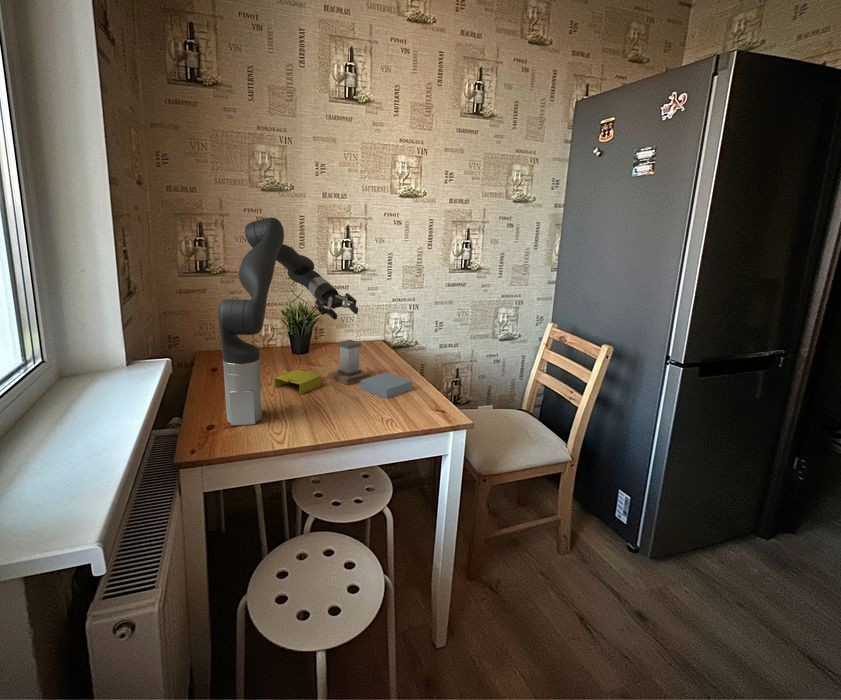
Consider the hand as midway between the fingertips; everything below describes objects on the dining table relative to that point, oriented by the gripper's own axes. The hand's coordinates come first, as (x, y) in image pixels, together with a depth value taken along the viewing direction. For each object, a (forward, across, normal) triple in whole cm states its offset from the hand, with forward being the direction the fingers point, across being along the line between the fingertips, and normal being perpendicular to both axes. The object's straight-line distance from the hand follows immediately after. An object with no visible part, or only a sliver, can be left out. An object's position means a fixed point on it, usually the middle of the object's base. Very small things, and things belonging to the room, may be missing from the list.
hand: (346, 314), depth 171 cm
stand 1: (+13, -5, +17) cm, 22 cm away
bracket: (+10, -22, +17) cm, 30 cm away
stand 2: (+28, -1, +12) cm, 30 cm away
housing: (+12, -5, +16) cm, 20 cm away
